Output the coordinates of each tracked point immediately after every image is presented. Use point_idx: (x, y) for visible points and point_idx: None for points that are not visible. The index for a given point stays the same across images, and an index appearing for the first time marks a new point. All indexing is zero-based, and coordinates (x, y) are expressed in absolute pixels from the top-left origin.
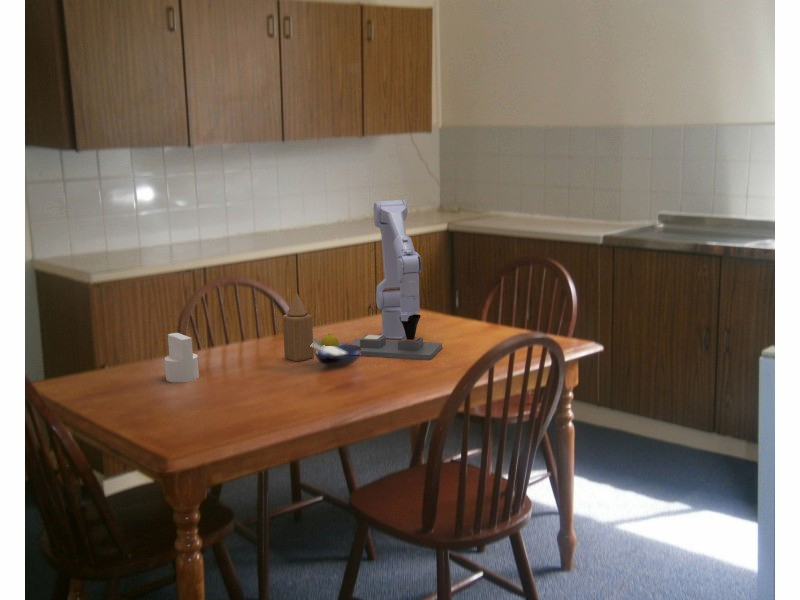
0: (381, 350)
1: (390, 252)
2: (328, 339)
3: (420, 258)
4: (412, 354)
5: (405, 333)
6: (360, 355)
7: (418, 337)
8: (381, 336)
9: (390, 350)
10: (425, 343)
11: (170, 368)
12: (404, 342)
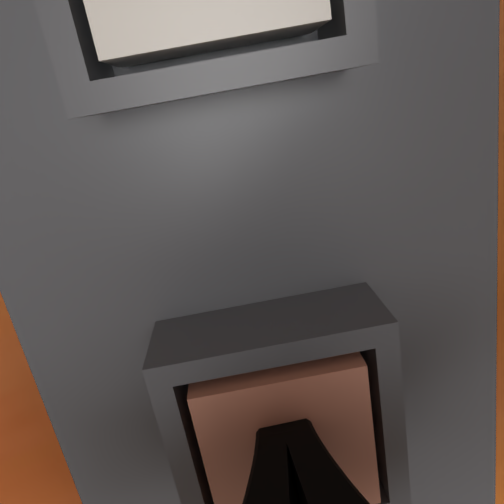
0: (36, 177)
1: None
2: None
3: None
4: (81, 489)
5: (249, 480)
6: None
7: (377, 494)
8: (307, 25)
9: (88, 268)
10: (453, 436)
11: None
12: (163, 434)
